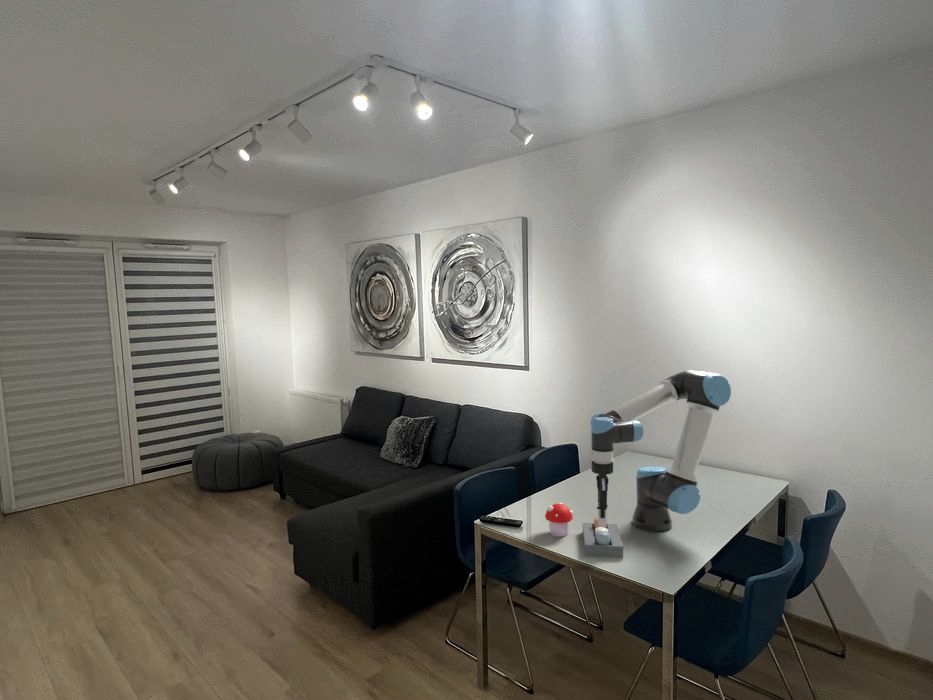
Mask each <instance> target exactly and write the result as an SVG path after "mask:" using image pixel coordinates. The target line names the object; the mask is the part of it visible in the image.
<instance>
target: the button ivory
mask: <svg viewBox="0 0 933 700" xmlns="http://www.w3.org/2000/svg"><path fill="white" fill-rule="evenodd" d="M598 531H607V532H608V529H607V528H604V527H597V528H595V537H596V533H597V532H598Z"/></svg>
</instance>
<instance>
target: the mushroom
mask: <svg viewBox="0 0 933 700" xmlns="http://www.w3.org/2000/svg"><path fill="white" fill-rule="evenodd" d="M573 516H574V511H573V510H571V509H570V508H569V506H567V505H566V504H564V503H562V502H559V503H553V504H552V505H548V507H547V510H546V512H545V515H544V518H545V520H546V521H548V522H549V523H548V527H549V532H550V535H551V536H553V537H556V538H564V537H566V536H568V532H569V527H570V525H569V523H570V522H571V521H572V520H573V519H574V517H573Z"/></svg>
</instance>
